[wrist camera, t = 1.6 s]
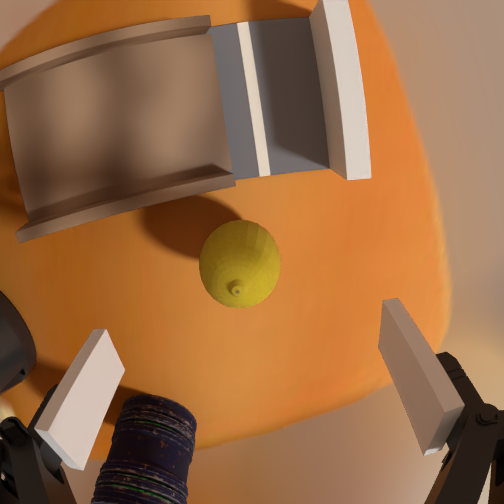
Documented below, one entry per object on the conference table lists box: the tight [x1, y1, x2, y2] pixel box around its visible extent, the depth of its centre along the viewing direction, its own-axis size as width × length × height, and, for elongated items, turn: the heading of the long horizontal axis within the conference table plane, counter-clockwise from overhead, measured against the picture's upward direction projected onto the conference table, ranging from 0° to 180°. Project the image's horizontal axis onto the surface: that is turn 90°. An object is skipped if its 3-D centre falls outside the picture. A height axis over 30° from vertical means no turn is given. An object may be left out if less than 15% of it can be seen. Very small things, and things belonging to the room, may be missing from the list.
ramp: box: [0, 15, 236, 244], centre depth 18 cm, size 15×12×8 cm
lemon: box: [199, 220, 281, 308], centre depth 22 cm, size 6×6×8 cm
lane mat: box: [206, 17, 330, 180], centre depth 21 cm, size 10×12×1 cm
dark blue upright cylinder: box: [91, 395, 197, 504], centre depth 28 cm, size 10×10×15 cm
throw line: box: [237, 22, 270, 177], centre depth 21 cm, size 1×12×1 cm, turn 8°
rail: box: [309, 0, 371, 180], centre depth 19 cm, size 2×12×5 cm, turn 8°
